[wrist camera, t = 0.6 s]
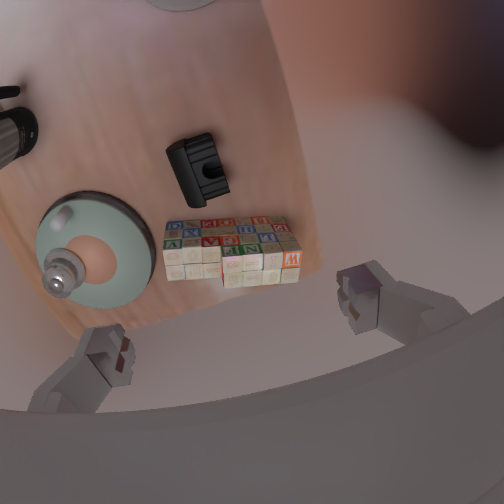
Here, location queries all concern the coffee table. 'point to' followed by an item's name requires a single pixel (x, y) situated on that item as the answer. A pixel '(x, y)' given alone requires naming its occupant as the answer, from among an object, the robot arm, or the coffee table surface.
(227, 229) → the stack of blocks
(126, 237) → the turntable
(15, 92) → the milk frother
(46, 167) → the coffee table surface
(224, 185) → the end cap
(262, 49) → the coffee table surface
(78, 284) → the cover
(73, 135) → the coffee table surface
